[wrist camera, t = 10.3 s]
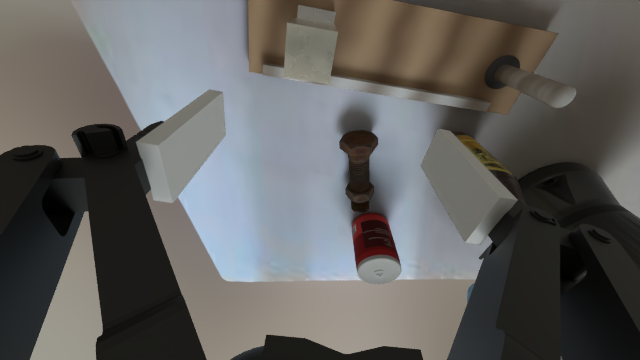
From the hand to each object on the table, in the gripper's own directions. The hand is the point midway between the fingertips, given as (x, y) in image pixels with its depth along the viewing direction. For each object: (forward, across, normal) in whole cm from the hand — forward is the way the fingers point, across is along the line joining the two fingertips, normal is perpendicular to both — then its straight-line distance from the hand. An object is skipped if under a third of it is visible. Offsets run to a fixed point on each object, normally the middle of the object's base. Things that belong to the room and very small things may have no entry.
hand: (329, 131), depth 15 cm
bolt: (+22, -8, +16) cm, 29 cm away
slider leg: (+19, +2, -3) cm, 20 cm away
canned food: (+22, -14, +29) cm, 39 cm away
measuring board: (+22, -8, -3) cm, 23 cm away
